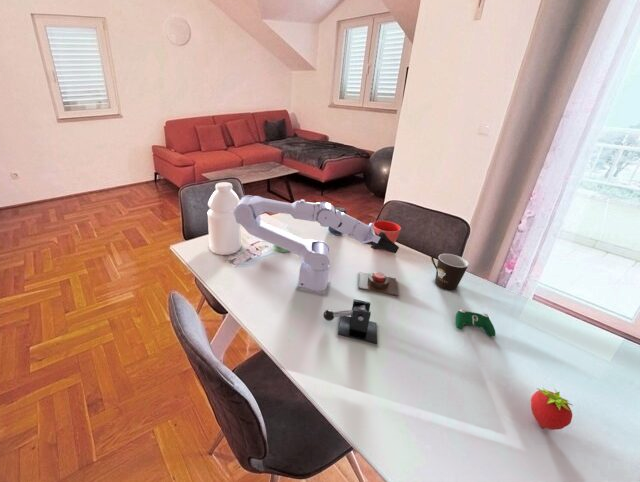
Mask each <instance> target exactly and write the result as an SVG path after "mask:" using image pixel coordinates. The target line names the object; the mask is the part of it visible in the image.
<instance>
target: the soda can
mask: <svg viewBox="0 0 640 482" xmlns="http://www.w3.org/2000/svg"><path fill="white" fill-rule="evenodd" d="M333 207H334V209H337V210H339V211H340V212H342V213H345V214H347V211H346V208H345V207H344V206H340V205H335V206H333ZM328 232H329V233H330V234H331V235H334V236H340V235H342V234H343V233H341V232H339V231H337V230H335V229H334V228H332V227H330V226H328Z"/></svg>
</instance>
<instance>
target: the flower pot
mask: <svg viewBox="0 0 640 482" xmlns="http://www.w3.org/2000/svg"><path fill="white" fill-rule="evenodd" d="M372 223H373V224H374V226H373V230H374V232H375V233H376V234H377V235H379V234H380V232H381V231H382V232H384V233H385V235H386V236H387V237H388V238H389V239H390V240H391V241H392V242H393V243H395V244H396V241H397V239H398V237H399V235H400V232H401V230H402V227H401V226H400V225H399V224H397V223H395V222H392V221H388V220H376V221H374V222H372ZM379 250H380V251H382V250H381V249H379Z"/></svg>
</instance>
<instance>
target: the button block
mask: <svg viewBox="0 0 640 482" xmlns="http://www.w3.org/2000/svg"><path fill="white" fill-rule="evenodd" d="M374 273H375V272H373V273H370V272H369V273H368V272H363V271H359V274H358V289H359V290H362V291H366V292H367V291H368V292H373V293H378V294H383V295H387V296H392V297H399V290H398V285H397V284H398V283H397V279H396V278H395V277H391V276H386V275H385V280H384V282H377V281H375V280H374V279H373V275H374Z"/></svg>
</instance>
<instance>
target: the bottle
mask: <svg viewBox="0 0 640 482" xmlns="http://www.w3.org/2000/svg"><path fill="white" fill-rule="evenodd" d="M214 186H215V187H214V189H215V190H214V192H213V193H212V194H211V196H210V197H209V199H208V202H207V207H208V208H209V209H208V211H207V213H206V214H207V226H208V227H207V231H208V247H209V250H210V251H211V252H212V253H214V254H217V255H222V256H223V255H224V256H227V255H228V256H229V255H233V254H235V253H238V252H240V250H241V248H242V245H243V243H242V227H243V226H242V225H241V224H239V223H237V222H236V220H235V217H234V209H235V207H236V206H237V205H238V204H239V202H240V200H241V198H239V195H238V194H237V193H236V192H235V191H234V190H233V187H234V186H233V184H232V183H231V182H229V181H223V182H222V181H221V182H217V183H215V185H214ZM234 251H235V252H234ZM231 252H232V253H231Z"/></svg>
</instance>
